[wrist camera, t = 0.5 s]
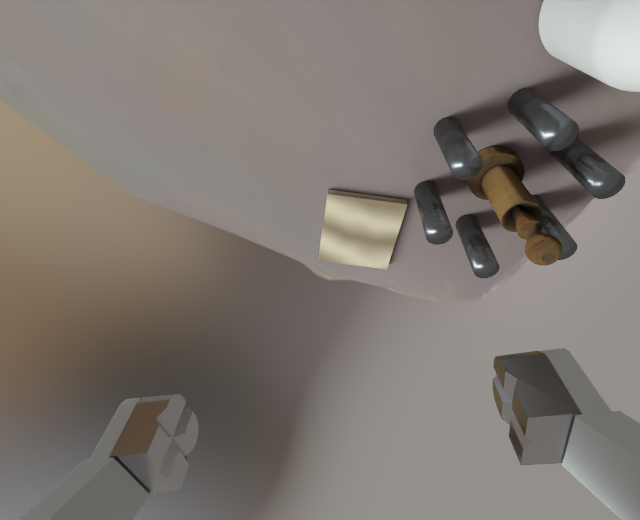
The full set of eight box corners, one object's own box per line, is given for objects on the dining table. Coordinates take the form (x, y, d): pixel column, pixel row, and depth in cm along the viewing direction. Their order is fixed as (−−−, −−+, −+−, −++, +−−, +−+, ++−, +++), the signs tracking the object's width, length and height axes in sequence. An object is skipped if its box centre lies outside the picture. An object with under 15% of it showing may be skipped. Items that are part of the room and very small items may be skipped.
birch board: (328, 189, 51) (327, 193, 50) (406, 199, 51) (407, 204, 50) (318, 255, 58) (318, 260, 58) (386, 264, 59) (387, 269, 58)
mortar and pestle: (454, 182, 49) (496, 272, 35) (484, 137, 45) (544, 220, 31) (496, 198, 50) (553, 291, 36) (529, 156, 46) (607, 243, 32)
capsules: (450, 77, 41) (474, 106, 33) (604, 99, 41) (662, 132, 34) (403, 223, 54) (412, 269, 46) (521, 239, 54) (549, 286, 47)
